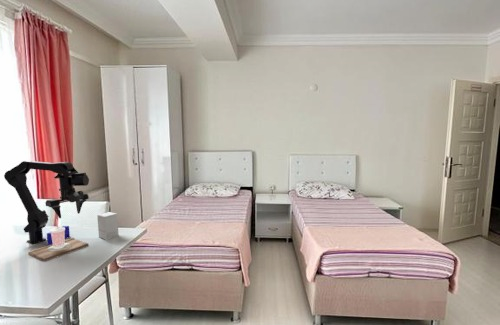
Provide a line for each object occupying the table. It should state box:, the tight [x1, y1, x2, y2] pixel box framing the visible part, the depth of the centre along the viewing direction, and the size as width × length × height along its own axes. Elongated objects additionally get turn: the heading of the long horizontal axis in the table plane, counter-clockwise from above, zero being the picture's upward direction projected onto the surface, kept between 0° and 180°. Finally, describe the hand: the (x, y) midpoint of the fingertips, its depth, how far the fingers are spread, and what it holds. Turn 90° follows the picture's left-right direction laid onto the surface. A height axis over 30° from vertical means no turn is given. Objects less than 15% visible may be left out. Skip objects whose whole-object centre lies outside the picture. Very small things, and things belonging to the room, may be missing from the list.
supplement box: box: [97, 211, 119, 241], centre depth 157 cm, size 7×7×13 cm
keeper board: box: [28, 237, 89, 262], centre depth 139 cm, size 14×20×2 cm
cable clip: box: [46, 225, 71, 246], centre depth 152 cm, size 12×4×6 cm, turn 176°
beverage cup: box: [49, 218, 66, 249], centre depth 139 cm, size 6×6×14 cm
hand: (69, 215), depth 150 cm, fingers open, 9 cm apart
